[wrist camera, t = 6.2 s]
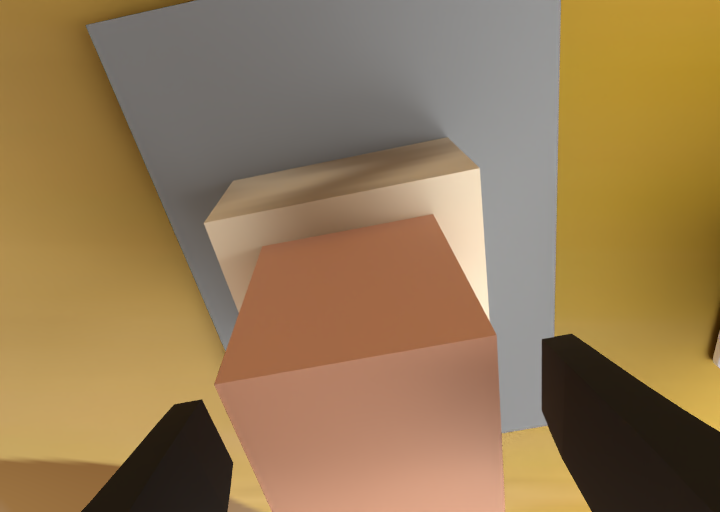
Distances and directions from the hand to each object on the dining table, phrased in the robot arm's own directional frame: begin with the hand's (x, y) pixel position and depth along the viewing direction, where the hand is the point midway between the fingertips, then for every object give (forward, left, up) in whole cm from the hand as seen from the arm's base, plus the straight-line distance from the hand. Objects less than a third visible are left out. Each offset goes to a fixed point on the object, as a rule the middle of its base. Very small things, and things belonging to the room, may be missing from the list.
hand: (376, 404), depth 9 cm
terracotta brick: (0, 0, -4) cm, 4 cm away
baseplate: (0, +1, -9) cm, 9 cm away
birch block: (0, 0, -7) cm, 7 cm away
